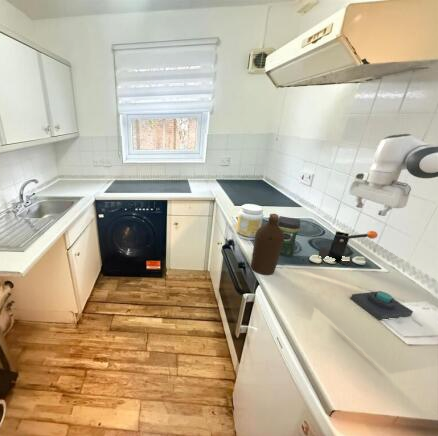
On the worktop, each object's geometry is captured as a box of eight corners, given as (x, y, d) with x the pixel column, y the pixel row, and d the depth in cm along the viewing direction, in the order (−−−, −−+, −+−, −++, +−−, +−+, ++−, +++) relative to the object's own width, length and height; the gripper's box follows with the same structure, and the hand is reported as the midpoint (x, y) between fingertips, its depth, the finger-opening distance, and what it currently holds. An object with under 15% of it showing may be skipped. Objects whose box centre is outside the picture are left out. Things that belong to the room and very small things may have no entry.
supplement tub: (242, 229, 139) (247, 201, 132) (263, 236, 130) (269, 207, 124) (231, 235, 131) (235, 206, 125) (252, 243, 123) (258, 213, 116)
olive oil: (281, 275, 98) (296, 219, 88) (257, 276, 97) (269, 220, 87) (267, 261, 107) (278, 209, 98) (244, 262, 106) (254, 210, 97)
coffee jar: (292, 252, 114) (302, 217, 107) (292, 260, 108) (302, 223, 101) (270, 247, 119) (278, 213, 112) (268, 254, 113) (277, 218, 105)
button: (381, 294, 82) (383, 290, 81) (393, 302, 78) (395, 298, 78) (372, 296, 81) (374, 291, 80) (384, 303, 78) (386, 299, 77)
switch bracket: (349, 258, 109) (359, 234, 104) (351, 268, 102) (361, 242, 97) (318, 251, 116) (326, 227, 111) (317, 259, 109) (326, 234, 104)
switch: (377, 236, 99) (375, 229, 98) (378, 239, 96) (377, 232, 96) (338, 240, 107) (336, 233, 107) (338, 243, 105) (336, 236, 104)
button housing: (378, 295, 86) (382, 286, 85) (410, 316, 77) (415, 307, 76) (350, 299, 85) (353, 290, 83) (379, 320, 76) (383, 311, 74)
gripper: (420, 184, 83) (404, 220, 89) (364, 172, 102) (354, 203, 107) (404, 185, 83) (389, 221, 88) (351, 173, 101) (341, 203, 107)
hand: (369, 211), depth 98 cm, fingers open, 8 cm apart
